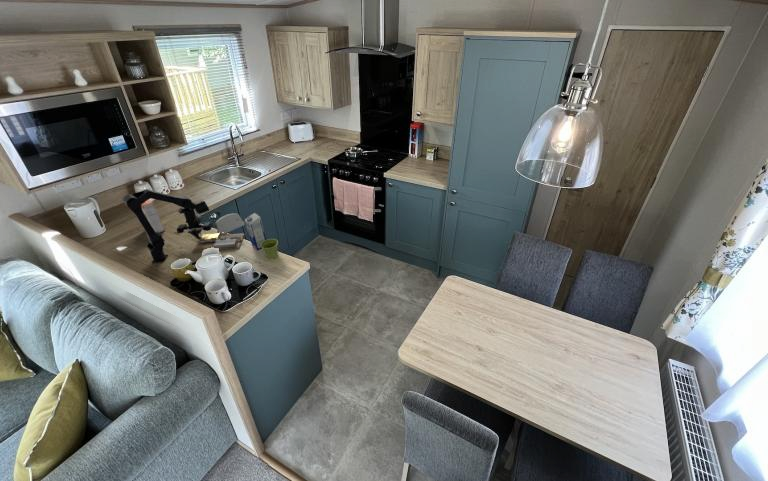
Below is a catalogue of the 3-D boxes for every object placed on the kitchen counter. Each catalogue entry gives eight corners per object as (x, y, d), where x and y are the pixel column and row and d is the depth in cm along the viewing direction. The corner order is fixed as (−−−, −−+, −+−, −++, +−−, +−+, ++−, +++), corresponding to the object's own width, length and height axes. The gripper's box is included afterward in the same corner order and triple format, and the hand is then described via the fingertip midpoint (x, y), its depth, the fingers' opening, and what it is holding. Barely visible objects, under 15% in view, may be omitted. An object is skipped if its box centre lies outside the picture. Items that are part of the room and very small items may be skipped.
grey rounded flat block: (221, 235, 215) (214, 220, 212) (218, 234, 219) (211, 220, 216) (245, 224, 226) (239, 210, 222) (242, 224, 229) (236, 210, 226)
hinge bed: (238, 248, 202) (237, 243, 200) (193, 253, 199) (190, 247, 197) (244, 234, 215) (242, 229, 213) (201, 238, 213) (199, 233, 211)
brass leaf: (217, 241, 207) (216, 237, 206) (200, 242, 206) (199, 239, 205) (220, 235, 212) (219, 232, 211) (203, 237, 211) (202, 233, 210)
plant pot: (284, 255, 195) (281, 242, 190) (269, 263, 189) (266, 250, 184) (275, 249, 200) (271, 236, 195) (260, 256, 195) (257, 244, 190)
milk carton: (267, 245, 204) (260, 216, 193) (257, 250, 200) (249, 220, 189) (262, 241, 208) (254, 212, 197) (251, 245, 204) (243, 216, 193)
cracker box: (147, 227, 226) (134, 199, 215) (157, 223, 230) (144, 195, 218) (155, 234, 218) (142, 205, 207) (165, 230, 222) (152, 201, 211)
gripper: (211, 209, 207) (218, 231, 216) (179, 211, 205) (188, 233, 214) (205, 218, 198) (214, 240, 206) (172, 221, 196) (181, 243, 205)
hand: (199, 239), depth 208 cm, fingers closed
